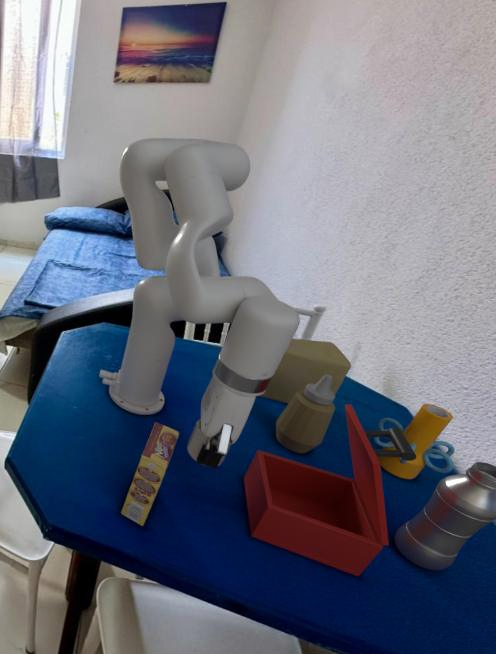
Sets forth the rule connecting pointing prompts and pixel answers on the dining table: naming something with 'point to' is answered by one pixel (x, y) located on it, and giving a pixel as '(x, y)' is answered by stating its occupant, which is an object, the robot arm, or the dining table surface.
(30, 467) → the dining table surface
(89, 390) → the dining table surface
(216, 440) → the container
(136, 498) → the candy box
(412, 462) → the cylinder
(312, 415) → the squeeze bottle
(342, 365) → the cheese
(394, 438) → the red box lid
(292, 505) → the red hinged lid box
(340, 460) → the dining table surface
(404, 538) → the silver metal bottle
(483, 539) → the dining table surface
